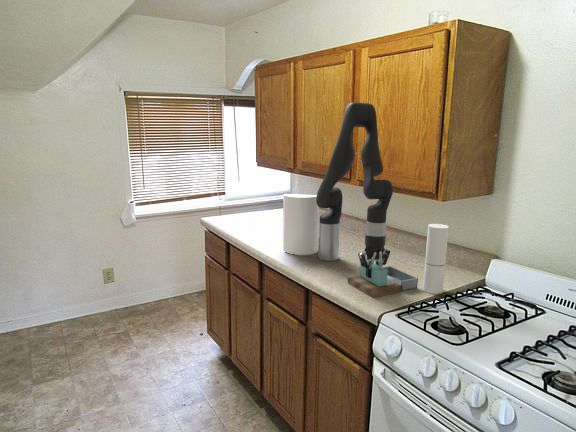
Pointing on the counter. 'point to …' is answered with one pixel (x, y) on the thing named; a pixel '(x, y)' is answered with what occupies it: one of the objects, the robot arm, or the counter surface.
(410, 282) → the tray
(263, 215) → the counter surface
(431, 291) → the cylindrical container
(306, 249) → the cylinder
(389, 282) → the blue tile
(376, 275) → the mint green rectangular block
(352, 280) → the board
